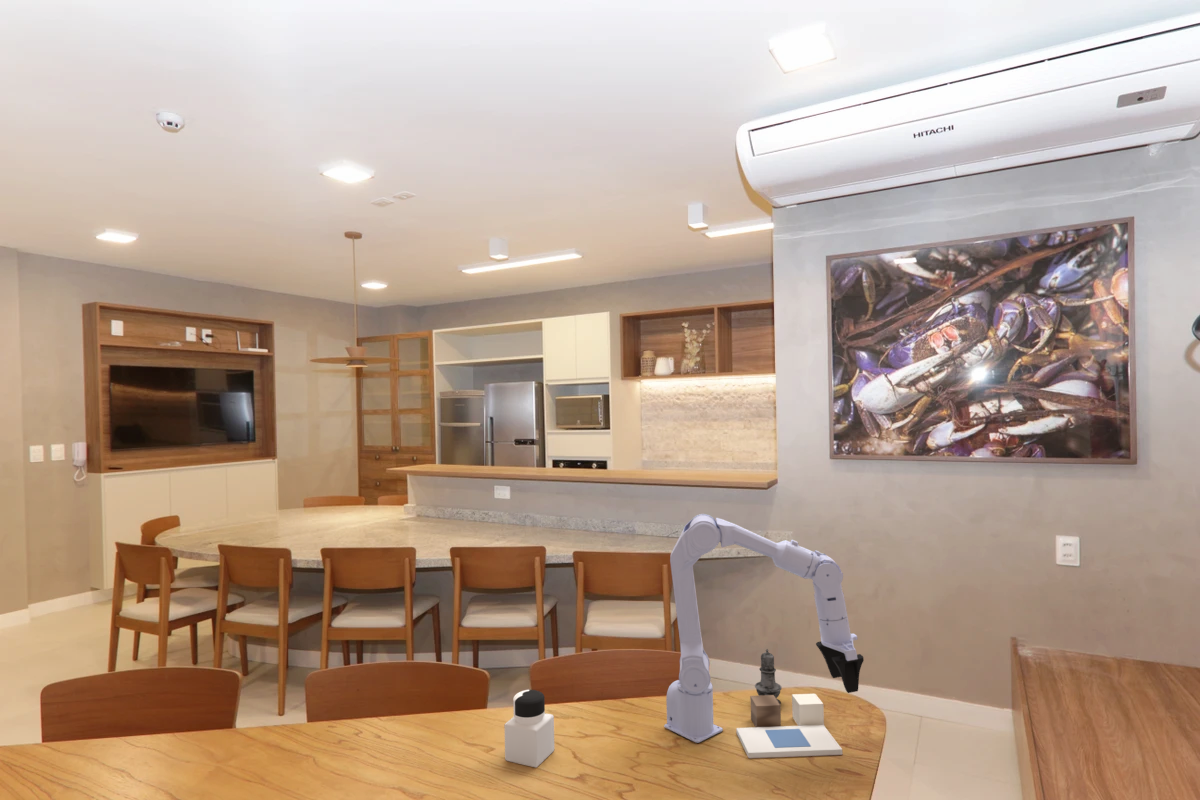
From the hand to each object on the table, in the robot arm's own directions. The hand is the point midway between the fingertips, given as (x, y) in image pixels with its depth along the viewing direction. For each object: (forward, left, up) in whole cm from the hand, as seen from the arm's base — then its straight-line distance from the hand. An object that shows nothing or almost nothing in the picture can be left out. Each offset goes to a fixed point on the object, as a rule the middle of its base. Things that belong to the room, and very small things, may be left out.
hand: (844, 683), depth 135 cm
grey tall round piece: (-20, +2, -11) cm, 23 cm away
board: (-6, -11, -11) cm, 16 cm away
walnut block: (-14, -7, -11) cm, 19 cm away
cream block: (-9, 0, -11) cm, 14 cm away
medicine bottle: (-37, -51, -11) cm, 64 cm away
